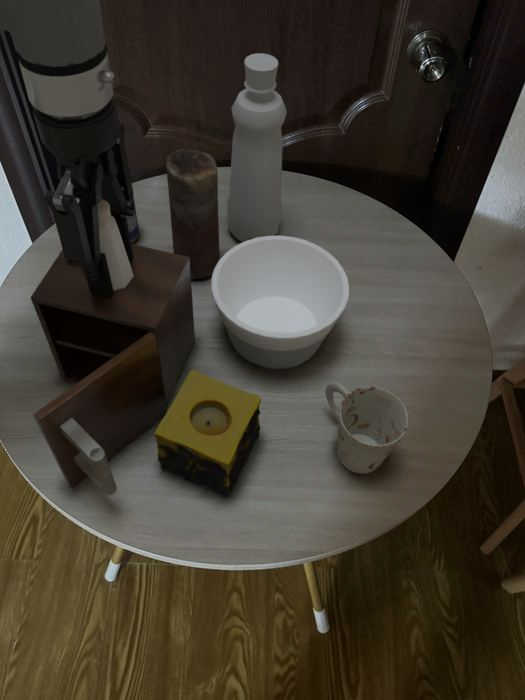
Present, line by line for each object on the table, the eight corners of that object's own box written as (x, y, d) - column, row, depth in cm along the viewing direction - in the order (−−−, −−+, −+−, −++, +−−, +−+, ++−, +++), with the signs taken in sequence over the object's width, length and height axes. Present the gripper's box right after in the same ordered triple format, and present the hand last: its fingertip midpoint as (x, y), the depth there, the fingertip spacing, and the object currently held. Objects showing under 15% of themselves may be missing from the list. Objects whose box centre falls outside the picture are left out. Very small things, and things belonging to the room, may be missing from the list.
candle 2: (193, 407, 85) (190, 366, 77) (261, 434, 83) (264, 394, 75) (157, 469, 79) (149, 431, 71) (229, 500, 77) (229, 464, 69)
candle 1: (184, 244, 104) (176, 141, 88) (225, 254, 103) (225, 151, 87) (168, 275, 99) (156, 173, 83) (211, 286, 99) (208, 185, 83)
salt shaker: (85, 292, 74) (65, 221, 65) (93, 259, 77) (75, 188, 68) (130, 293, 74) (117, 224, 65) (136, 261, 77) (125, 190, 68)
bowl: (309, 273, 101) (317, 223, 93) (359, 364, 91) (373, 317, 82) (196, 300, 97) (193, 250, 88) (235, 399, 86) (236, 353, 78)
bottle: (281, 214, 109) (296, 47, 85) (278, 250, 104) (293, 83, 80) (229, 210, 110) (230, 42, 85) (224, 246, 104) (223, 77, 80)
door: (198, 443, 82) (193, 368, 68) (103, 524, 75) (75, 460, 61) (162, 409, 85) (149, 331, 71) (67, 484, 78) (32, 414, 64)
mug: (356, 494, 79) (371, 458, 71) (296, 423, 84) (303, 383, 76) (403, 460, 82) (423, 422, 74) (342, 394, 88) (354, 352, 80)
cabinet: (167, 407, 85) (155, 328, 71) (62, 380, 87) (30, 297, 73) (195, 341, 92) (189, 256, 78) (97, 317, 94) (74, 230, 80)
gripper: (66, 167, 51) (110, 339, 69) (149, 56, 61) (168, 231, 80) (-17, 149, 51) (48, 324, 70) (79, 43, 62) (113, 219, 81)
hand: (112, 274), depth 75 cm, fingers open, 5 cm apart
